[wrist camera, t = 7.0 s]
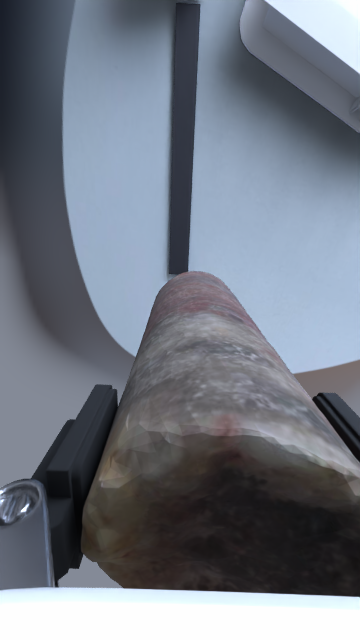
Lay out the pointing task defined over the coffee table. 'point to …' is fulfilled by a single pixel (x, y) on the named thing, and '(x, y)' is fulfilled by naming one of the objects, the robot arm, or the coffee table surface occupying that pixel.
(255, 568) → the brown weathered cylinder
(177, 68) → the strip
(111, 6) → the coffee table surface
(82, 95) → the coffee table surface
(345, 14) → the white flat lidded device
